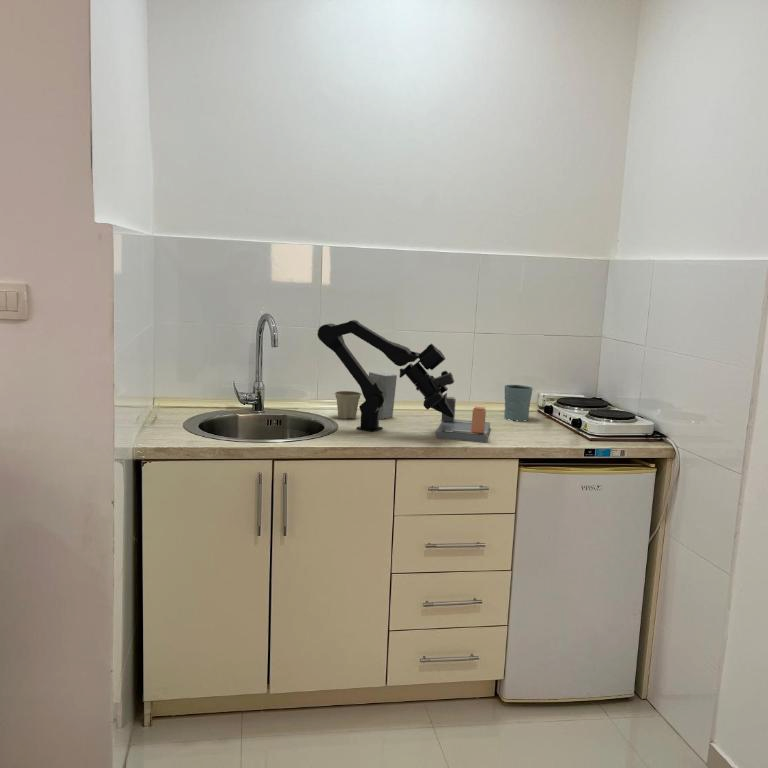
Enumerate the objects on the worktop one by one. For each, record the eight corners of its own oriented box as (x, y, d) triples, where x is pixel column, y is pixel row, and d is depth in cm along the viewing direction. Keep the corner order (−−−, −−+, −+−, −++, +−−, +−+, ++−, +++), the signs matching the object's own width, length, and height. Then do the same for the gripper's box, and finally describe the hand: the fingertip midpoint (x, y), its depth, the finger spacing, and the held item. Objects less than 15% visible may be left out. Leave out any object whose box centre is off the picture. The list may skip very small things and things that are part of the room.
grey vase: (364, 415, 272) (366, 371, 269) (377, 413, 277) (379, 370, 275) (382, 420, 266) (384, 375, 264) (395, 417, 272) (397, 373, 269)
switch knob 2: (471, 431, 243) (472, 408, 241) (472, 429, 246) (473, 406, 245) (483, 433, 242) (485, 409, 241) (484, 430, 246) (486, 407, 245)
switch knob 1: (441, 420, 258) (442, 398, 257) (442, 418, 262) (444, 396, 261) (453, 421, 257) (454, 399, 256) (454, 419, 261) (455, 397, 260)
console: (434, 437, 243) (434, 430, 243) (441, 424, 264) (441, 417, 264) (486, 442, 240) (486, 435, 240) (489, 428, 262) (490, 421, 261)
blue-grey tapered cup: (508, 421, 274) (510, 388, 272) (497, 416, 283) (500, 384, 282) (534, 421, 276) (537, 389, 274) (523, 416, 286) (525, 384, 284)
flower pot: (336, 413, 273) (337, 389, 272) (362, 415, 272) (363, 391, 271) (331, 418, 264) (331, 394, 263) (357, 421, 263) (358, 396, 261)
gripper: (437, 367, 234) (470, 406, 234) (443, 360, 252) (474, 396, 252) (409, 389, 237) (442, 428, 237) (418, 381, 255) (448, 417, 255)
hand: (452, 416), depth 245 cm, fingers closed
